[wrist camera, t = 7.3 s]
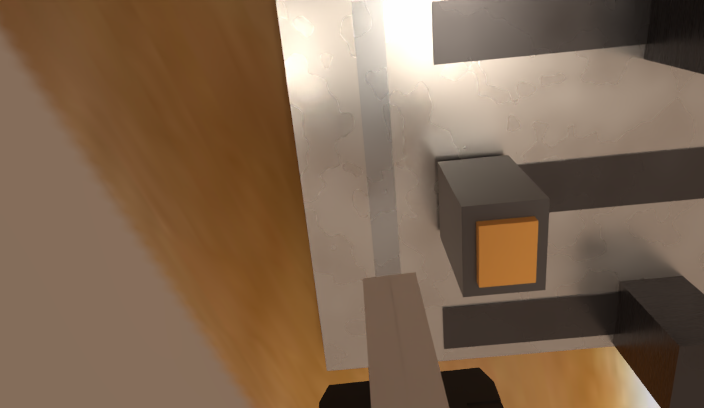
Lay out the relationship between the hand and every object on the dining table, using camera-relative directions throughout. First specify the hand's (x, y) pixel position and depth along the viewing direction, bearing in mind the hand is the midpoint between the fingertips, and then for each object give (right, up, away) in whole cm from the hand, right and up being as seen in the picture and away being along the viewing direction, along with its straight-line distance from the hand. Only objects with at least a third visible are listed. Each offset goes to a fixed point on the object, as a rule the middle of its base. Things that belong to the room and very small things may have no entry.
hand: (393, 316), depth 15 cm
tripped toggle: (+4, +4, +8) cm, 10 cm away
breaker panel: (+9, +5, +10) cm, 14 cm away
